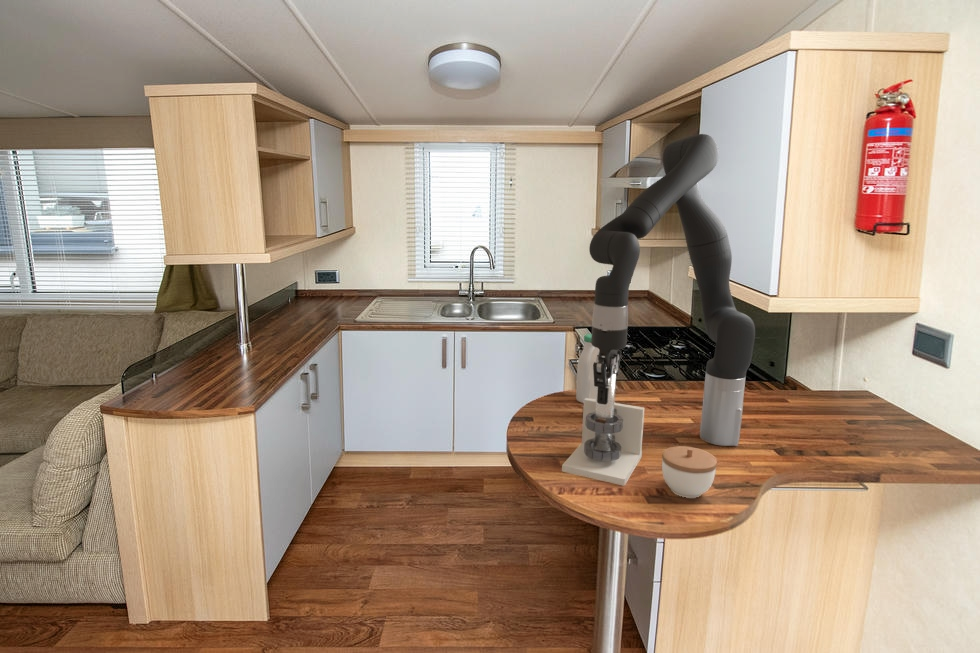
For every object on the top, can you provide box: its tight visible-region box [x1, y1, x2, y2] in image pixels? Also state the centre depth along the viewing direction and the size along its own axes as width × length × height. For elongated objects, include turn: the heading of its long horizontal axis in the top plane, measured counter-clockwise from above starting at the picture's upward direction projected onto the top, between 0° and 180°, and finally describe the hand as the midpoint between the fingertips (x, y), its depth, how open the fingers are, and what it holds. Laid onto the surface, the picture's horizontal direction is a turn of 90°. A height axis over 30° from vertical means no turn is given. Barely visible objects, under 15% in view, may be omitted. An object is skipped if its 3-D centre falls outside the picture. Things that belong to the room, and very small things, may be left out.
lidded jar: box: [661, 445, 718, 499], centre depth 121 cm, size 11×11×9 cm
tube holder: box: [561, 398, 645, 487], centre depth 133 cm, size 14×16×12 cm
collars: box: [584, 409, 623, 461], centre depth 133 cm, size 8×11×8 cm
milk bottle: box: [575, 333, 595, 404], centre depth 174 cm, size 8×8×20 cm
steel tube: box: [593, 372, 617, 451], centre depth 131 cm, size 4×4×18 cm
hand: (605, 400), depth 130 cm, fingers closed on steel tube, 4 cm apart
